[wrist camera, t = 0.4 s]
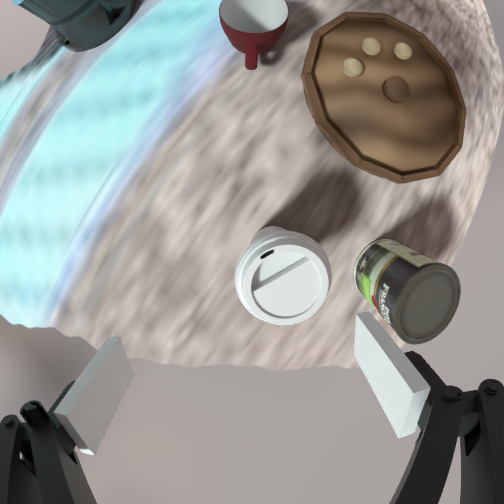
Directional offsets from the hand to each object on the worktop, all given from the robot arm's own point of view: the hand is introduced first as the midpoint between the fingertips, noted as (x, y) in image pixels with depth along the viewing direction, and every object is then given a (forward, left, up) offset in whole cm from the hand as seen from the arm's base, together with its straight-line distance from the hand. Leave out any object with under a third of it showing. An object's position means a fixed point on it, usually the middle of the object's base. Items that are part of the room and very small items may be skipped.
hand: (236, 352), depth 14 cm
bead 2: (-24, +26, -25) cm, 44 cm away
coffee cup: (+2, +4, -27) cm, 27 cm away
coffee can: (+10, +20, -27) cm, 35 cm away
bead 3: (-24, +32, -25) cm, 47 cm away
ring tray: (-17, +28, -26) cm, 42 cm away
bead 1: (-21, +21, -25) cm, 39 cm away
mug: (-27, +9, -27) cm, 39 cm away
